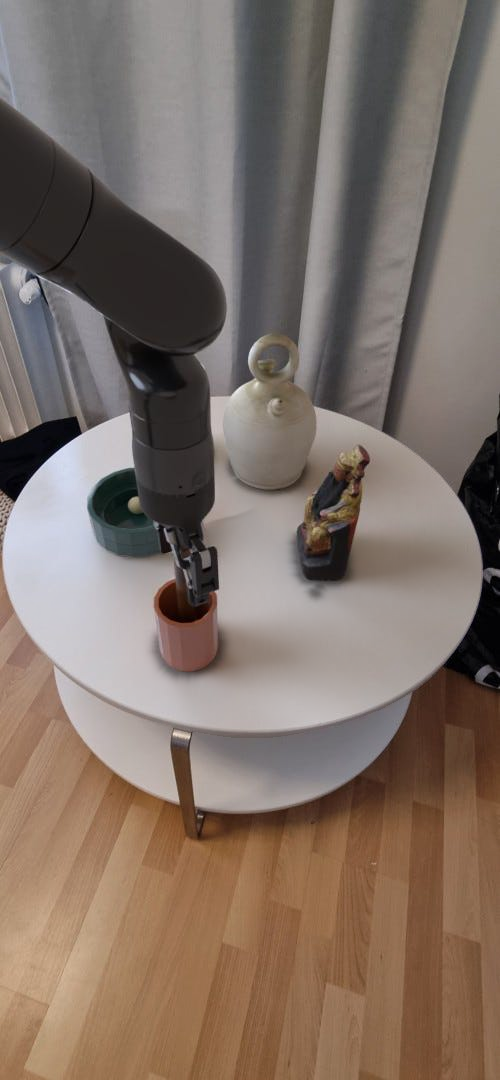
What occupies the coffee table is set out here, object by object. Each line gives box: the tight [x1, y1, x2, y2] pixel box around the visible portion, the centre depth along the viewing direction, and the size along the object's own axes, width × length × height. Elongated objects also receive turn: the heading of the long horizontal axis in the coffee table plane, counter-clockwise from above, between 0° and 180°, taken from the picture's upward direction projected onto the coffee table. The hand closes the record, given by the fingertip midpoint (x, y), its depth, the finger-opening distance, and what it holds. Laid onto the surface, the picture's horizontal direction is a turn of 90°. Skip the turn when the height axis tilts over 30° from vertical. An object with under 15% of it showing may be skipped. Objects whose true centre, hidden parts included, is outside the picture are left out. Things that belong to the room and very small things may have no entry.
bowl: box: [86, 467, 161, 558], centre depth 91 cm, size 15×15×6 cm
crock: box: [153, 578, 219, 672], centre depth 74 cm, size 8×8×10 cm
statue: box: [296, 444, 371, 593], centre depth 82 cm, size 12×8×20 cm, turn 178°
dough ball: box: [128, 497, 143, 514], centre depth 93 cm, size 3×3×3 cm
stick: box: [172, 550, 197, 623], centre depth 71 cm, size 3×2×18 cm
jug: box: [222, 332, 317, 491], centre depth 95 cm, size 15×16×25 cm
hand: (183, 575), depth 67 cm, fingers open, 8 cm apart
